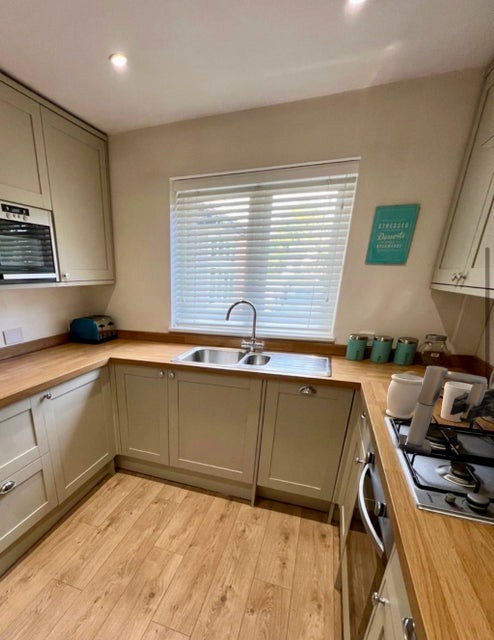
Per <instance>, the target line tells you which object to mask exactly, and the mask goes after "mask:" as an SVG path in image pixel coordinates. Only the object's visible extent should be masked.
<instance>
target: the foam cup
mask: <svg viewBox="0 0 494 640" xmlns="http://www.w3.org/2000/svg"><path fill="white" fill-rule="evenodd" d="M471 387H472V384H468V383H463V382H457V381H446V382H445V384H444V387H443V397H442V402H441V403H442V404H441V411H440V418H441V419H443V420H446V421H449V422H454V423H455V422H456V423H460V422H462V421H461V420H460V419H459V418H460V416H461V415H462V413H463V412H461V413H458V414H455V415H451V414H450V412H451V409H452V404H453V401H454V399H455V398H456V397H458V396H461V395H463V393H464V392H467V393H470V390H471Z"/></svg>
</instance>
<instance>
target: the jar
mask: <svg viewBox="0 0 494 640" xmlns="http://www.w3.org/2000/svg"><path fill="white" fill-rule="evenodd" d="M421 377H422V376H421ZM421 377H418V376H413V375H407V374H403V373H393V374H391V381H390V383H389V386H388V389H387V395H386V408H387V409H386V410H385V414H386V415H389V417H393V418H397V419H402V420H409V419H411V418H413V415H412V413H414V412H415V409H416V405H417V402H418V401H417V399H418V396H419V392H420V389H421V386H422V382H423V379H424V377H422V378H421Z"/></svg>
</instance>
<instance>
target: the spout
mask: <svg viewBox="0 0 494 640" xmlns="http://www.w3.org/2000/svg"><path fill="white" fill-rule="evenodd" d="M445 380H446V381H451V382H460V383H466V384H470V385H472V387H471V390H470V393H469V396H468V399H467V401H466V404H465V407H464V410H463V413H462V415H461V416H460V418H459V419H460V420H461V422H463V423H466V424H475V423H476V421H477V418H475V419H472V420H466V418H467V415H468V412H469V410H470V409H474V408H477V407H480V405H481V402H482V399H483V397H484V394H485V391H486V390H488V386H489V384H488V379H487V378H486V377H484V376H481V375H474V374H469V373H463V372H456V371H450V370H449V369H448V368H446V367H443V366H437V365H426V368H425V373H424V376H423V382H422V386H421V389H420V392H419V396H418V399H417V401H418V402H419V403H422V404H426V405H435V406H437V405H438V402H439V400H440V396H441V393H442V389H443V386H444V383H445Z"/></svg>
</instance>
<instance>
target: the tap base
mask: <svg viewBox="0 0 494 640" xmlns="http://www.w3.org/2000/svg"><path fill="white" fill-rule="evenodd" d="M435 408H436V405H426V404H422V403H419V402H417V405H416V408H415V410H414V411H413V415H412V419H411V423H410V425H409V429H408V432H407V434H402V433H399V434H398V438H397V442H398V445H397V446H398V447H397V448H398V449H403V450H406V451H409V452H410V451H411V452H415V453H419V454H424V455H427V456H431V453H432V448H431V442H430V440H429V439H426V437H427V433H428V430H429V428H430V427H429V426H430V424H431V421H432V418H433V415H434V412H435Z"/></svg>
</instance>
